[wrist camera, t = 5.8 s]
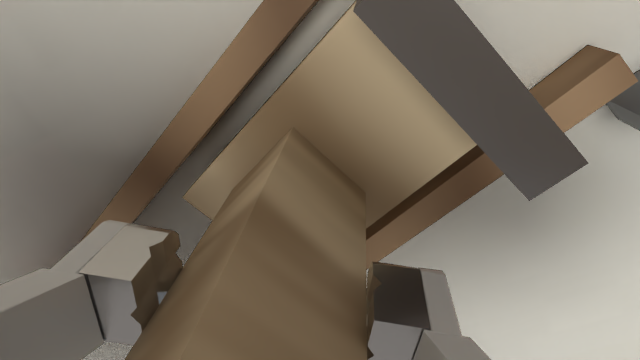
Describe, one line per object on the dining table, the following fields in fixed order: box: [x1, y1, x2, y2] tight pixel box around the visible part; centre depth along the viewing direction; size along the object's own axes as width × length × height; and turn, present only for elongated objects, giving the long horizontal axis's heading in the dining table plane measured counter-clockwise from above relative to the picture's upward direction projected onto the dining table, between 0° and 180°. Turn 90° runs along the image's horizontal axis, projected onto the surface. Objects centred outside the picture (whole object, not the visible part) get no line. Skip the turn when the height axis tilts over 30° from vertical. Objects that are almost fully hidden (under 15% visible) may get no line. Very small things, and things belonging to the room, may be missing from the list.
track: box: [80, 0, 638, 270], centre depth 15 cm, size 26×9×2 cm, turn 137°
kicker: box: [125, 0, 588, 360], centre depth 8 cm, size 9×5×10 cm, turn 137°
